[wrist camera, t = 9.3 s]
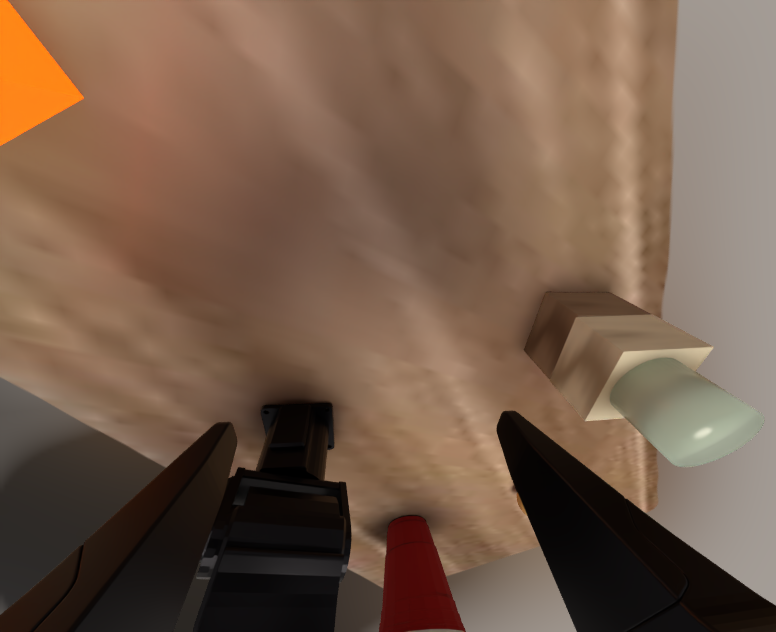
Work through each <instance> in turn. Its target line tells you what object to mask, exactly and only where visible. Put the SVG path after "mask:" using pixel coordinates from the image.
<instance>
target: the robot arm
mask: <svg viewBox="0 0 776 632" xmlns="http://www.w3.org/2000/svg"><path fill="white" fill-rule="evenodd" d="M326 408H328V409H326ZM266 410H267V411H266ZM261 416H262V420H263V424H264V428H265V433H266V439H265V442H264V446H263V449H262V452H261V455H260V458H259V461H258V464H257V467H256V471H253V470H246V469H245V468H241V467H238V469H237V471H236V474H235V476H232V477H231V478H228V477H229V474H230V470H231V466H232V462H233V458H234V455H235V451H236V447H237V437H236V434H235V431H234V427H233V425H232V423H231V422H219V423H216V424H214V425H213V426H212V427H211V428H210V429H209V430H208V431H207V432H205V433H204V434H203V435H202V436H201V437H200V438H199V439H198V440H197V441H195V442H194V443H193V444H192V445H191V446H190V447H189V448H188V449H187V450H186V451H184V452H183V453H182V454H181V455H180V456H179V457H178V458H177V459H176V460H174V461H173V462H172V463H171V464H170V465H169V466H168V467H167V468H166V469H164V470H163V471H162V472H161V473H160V474H159V475H158V476H157V477H156V478H155V479H153V480H152V481H151V482H150V483H149V484H148V485H147V486H146V487H145V488H144V489H142V490H141V491H140V492H139V493H138V494H137V495H136V496H135V497H133V498H132V499H131V500H130V501H129V502H128V503H127V504H126V505H125V506H124V507H122V508H121V509H120V510H119V511H118V512H117V513H116V514H115V515H114V516H113V517H111V518H110V519H109V520H108V521H107V522H106V523H105V524H104V525H102V526H101V527H100V528H99V529H98V530H97V531H96V532H95V533H94V534H93V535H91V536H90V537H89V538H88V539H87V540H86V541H85V542H84V544H83V545H81V546H79V547H78V548H77V549H76V550H75V551H73V552H72V553H71V554H70V555H69V556H68V557H67V558H66V559H65V560H63V561H62V562H61V563H60V564H59V565H58V566H57V567H56V568H54V569H53V570H52V571H51V572H50V573H49V574H48V575H46V576H45V577H44V578H43V579H42V580H41V581H40V582H39V583H37V584H36V585H35V586H34V587H33V588H32V589H31V590H29V591H28V592H27V593H26V594H25V595H24V596H22V597H21V598H20V599H19V600H18V601H16V602H15V603H14V604H13V605H12V606H10V607H9V608H8V609H7V610H6V611H4V612H3V613H2V614H1V615H0V632H173V631H174V628H175V625H176V623H177V620H178V617H179V615H180V612H181V609H182V606H183V604H184V601H185V599H186V596H187V593H188V590H189V588H190V585H191V582H192V580H193V577H194V575H195V572H196V569H197V566H198V564H199V563H201V566H200V568H199V571H198V574H197V579H210V581H209V583H208V586H207V589H206V592H205V595H204V598H203V601H202V604H201V607H200V609H199V612H198V615H197V618H196V621H195V624H194V628H193V632H334V627H335V614H336V605H337V595H338V588H339V583H340V582H341V581H342V580H343V578H344V575H345V573H346V570H347V566H348V562H349V557H350V549H351V522H350V513H349V505H348V496H347V488H346V482H339V483H338V482H331V481H324V479H325V468H326V458H327V450H330V449H333V448H334V425H333V406H332V405H331V404H329V403H316V404H286V405H265V406H263V407H262V409H261ZM497 434H498V438H499V441H500V444H501V447H502V450H503V453H504V457H505V460H506V463H507V466H508V469H509V472H510V475H511V478H512V480H513V483H514V485H515V488H516V490H517V492H518V495H519V497H520V499H521V502H522V504H523V506H524V509H525V511H526V513H527V516H528V518H529V520H530V523H531V525H532V527H533V530H534V532H535V535H536V537H537V539H538V542H539V544H540V546H541V549H542V551H543V553H544V556H545V558H546V560H547V562H548V565H549V567H550V570H551V572H552V574H553V577H554V579H555V581H556V584H557V586H558V588H559V591H560V593H561V596H562V598H563V600H564V603H565V605H566V607H567V609H568V612H569V614H570V617H571V619H572V621H573V624H574V626H575V628H576V631H577V632H776V605H774V604H773V603H771V602H769V601H768V600H766V599H764V598H763V597H761V596H760V595H758V594H757V593H755V592H754V591H752V590H751V589H749V588H748V587H747V586H745V585H744V584H743V583H741V582H740V581H738V580H737V579H736V578H734V577H733V576H731V575H730V574H728V573H727V572H726V571H724V570H723V569H721V568H720V567H719V566H717V565H716V564H714V563H713V562H712V561H710V560H709V559H707V558H706V557H704V556H703V555H702V554H700V553H699V552H697V551H696V550H695V549H693V548H692V547H690V546H689V545H688V544H686V543H685V542H683V541H682V540H681V539H679V538H678V537H676V536H675V535H674V534H672V533H671V532H670V531H668V530H667V529H666V528H664V527H663V526H662V525H660V524H659V523H658V522H656V521H655V520H654V519H652V518H651V517H650V516H648V515H647V514H646V513H645V512H643V511H642V510H641V509H639V508H638V507H637V506H636V505H634V504H633V503H632V502H630V501H629V500H628V499H625V498H624V496H623V495H621V494H620V493H619V492H618V491H616V490H615V489H614V488H613V487H611V486H610V485H609V484H608V483H606V482H605V481H604V480H602V479H601V478H600V477H599V476H597V475H596V474H595V473H594V472H592V471H591V470H590V469H588V468H587V467H586V466H585V465H583V464H582V463H581V462H580V461H578V460H577V459H576V458H574V457H573V456H572V455H571V454H569V453H568V452H567V451H566V450H564V449H563V448H562V447H561V446H559V445H558V444H557V443H555V442H554V441H553V440H552V439H550V438H549V437H548V436H547V435H545V434H544V433H543V432H541V431H540V430H539V429H538V428H536V427H535V426H534V425H533V424H531V423H530V422H529V421H528V420H526V419H525V418H524V417H522V416H521V415H520V414H519V413H517V412H516V411H503V412H502V414H501V416H500V419H499V422H498V424H497Z"/></svg>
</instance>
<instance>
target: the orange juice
mask: <svg viewBox="0 0 776 632" xmlns="http://www.w3.org/2000/svg"><path fill="white" fill-rule="evenodd" d="M82 99H84V97H83V96H82V95H81V94H80V92H79V91H78V90H77V89H76V87H75V86H74V85H73V83H72V82H71V81H70V80H69V78H68V77H67V76H66V75H65V73H64V72H63V71H62V69H61V68H60V67H59V66H58V64H57V63H56V62H55V60H54V59H53V58H52V57H51V55H50V54H49V53H48V52H47V50H46V49H45V48H44V46H43V45H42V44H41V43H40V41H39V40H38V39H37V38H36V36H35V35H34V34H33V32H32V31H31V30H30V29H29V27H28V26H27V25H26V23H25V22H24V21H23V20H22V18H21V17H20V16H19V15H18V13H17V12H16V11H15V9H14V8H13V7H12V6H11V4H10V3H9V2H8V1H7V0H0V145H2V144H4V143H6V142H7V141H9V140H11V139H13V138H15V137H16V136H18V135H20V134H22V133H23V132H25V131H27V130H29V129H30V128H32V127H34V126H36V125H38V124H39V123H41V122H43V121H45V120H46V119H48V118H50V117H52V116H53V115H55V114H57V113H59V112H61V111H62V110H64V109H66V108H68V107H69V106H71V105H73V104H75V103H76V102H78V101H80V100H82Z"/></svg>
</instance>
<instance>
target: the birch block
mask: <svg viewBox="0 0 776 632" xmlns="http://www.w3.org/2000/svg"><path fill="white" fill-rule="evenodd" d="M713 348H714V347H713V346H711V345H709V344H707V343H705V342H703V341H702V340H700V339H698V338H696V337H694V336H692V335H690V334H688V333H686V332H685V331H683V330H681V329H679V328H677V327H675V326H673V325H671V324H669V323H667V322H666V321H664V320H662V319H660V318H658V317H656V316H654V315H652V314H650V315H624V316H597V317H576V318H575V321H574V323H573V326H572V328H571V330H570V333H569V335H568V338H567V340H566V342H565V345H564V347H563V350H562V352H561V354H560V357H559V359H558V362H557V364H556V366H555V369H554V371H553V374H552V376H551V378H550V382H551V383H552V384H553V385H554V386H555V388H556V389H557V390H558V391H559V392H560V393H561V394H562V396H563V397H564V398H565V399H566V400H567V401H568V403H569V404H570V405H571V406H572V407H573V408H574V409H575V411H576V412H577V413H578V414H579V415H580V416H581V417H582V419H583V420H584V421H594V420H607V419H619V418H624V417H623V416H622V415H621V414H620V413H619V412H618V411H617V410H616V409H615V408H614V407H613V406H612V405H611V403H610V393H611V391H612V389H613V387H614V386H615V384H616V383H617V382H618V381H619V379H620V378H621V377H622V376H624V375H625V374H626V373H627V372H629V371H630V370H631V369H633V368H635V367H636V366H638V365H640V364H642V363H645V362H647V361H650V360H653V359H657V358H674V359H676V360H678V361H679V362H681V363H683V364H684V365H686V366H687V367H689V368H691V369H692V370H694V371H696V370H697V368H698V367H699V366H700V365H701V363H702V362H703V361H704V359H705V358H706V357H707V356H708V354H709V353H710V352H711V350H712V349H713Z"/></svg>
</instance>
